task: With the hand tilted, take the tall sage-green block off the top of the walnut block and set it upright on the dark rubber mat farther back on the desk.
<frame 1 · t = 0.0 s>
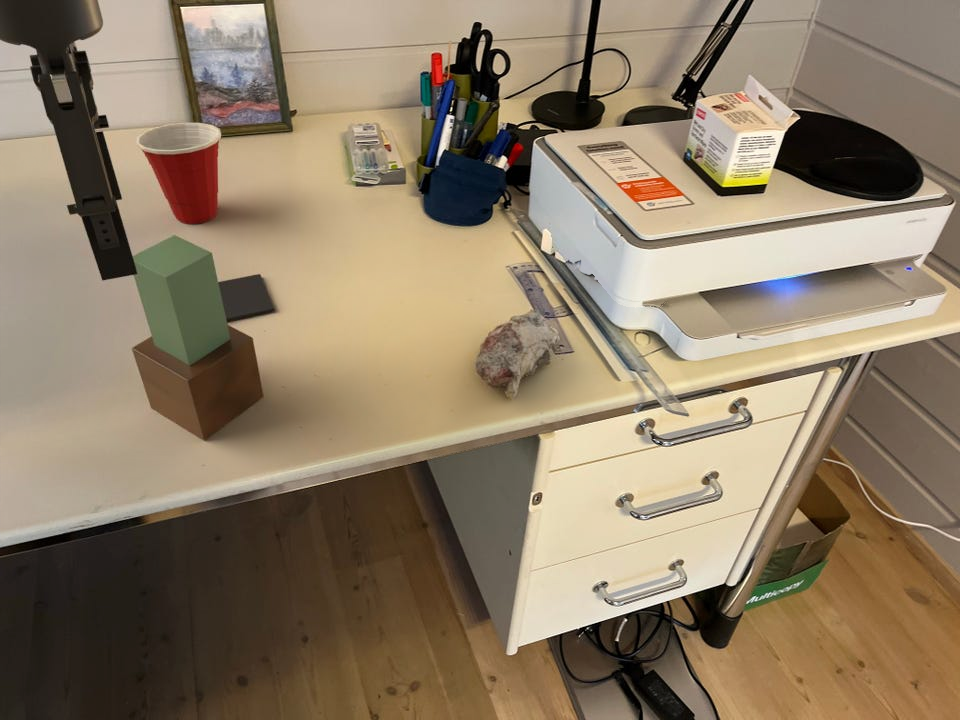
hand: (112, 235, 67), 19 cm above the table, tool pointing down, fingers open, 13 cm apart
modular blocks: (603, 269, 102), on the table
base block: (208, 402, 78), on the table, touching top block
plastic cup: (196, 214, 107), on the table
top block: (192, 342, 73), point 8 cm above the table, touching base block
mat: (218, 304, 91), on the table
mineral rock: (515, 363, 86), on the table
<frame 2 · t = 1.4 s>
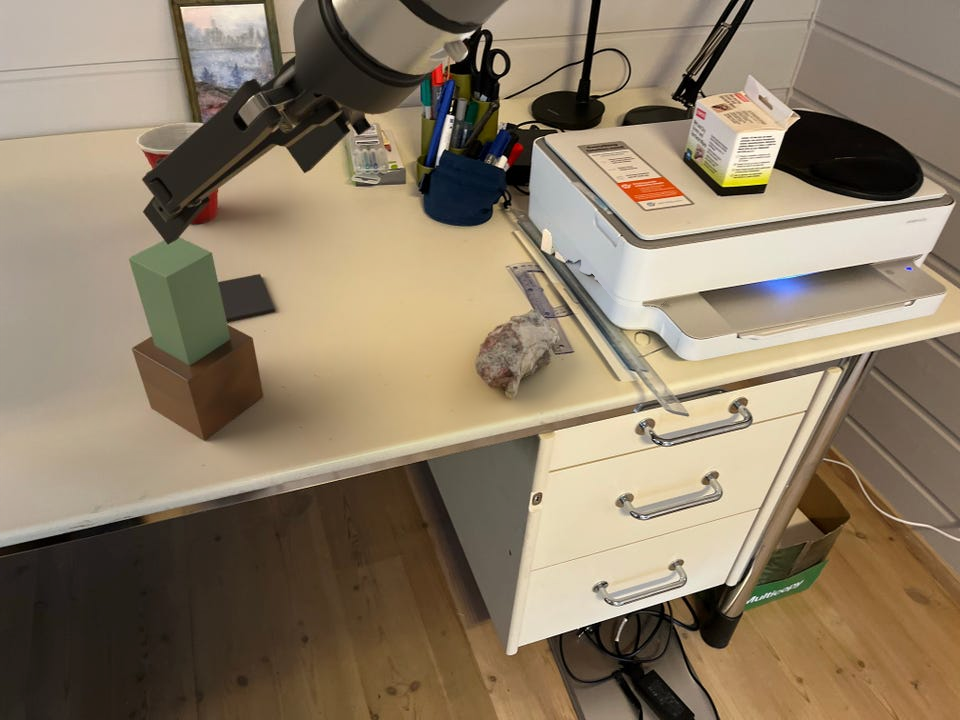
hand: (233, 189, 56), 28 cm above the table, tool tilted 45°, fingers open, 13 cm apart
nothing on the table moved.
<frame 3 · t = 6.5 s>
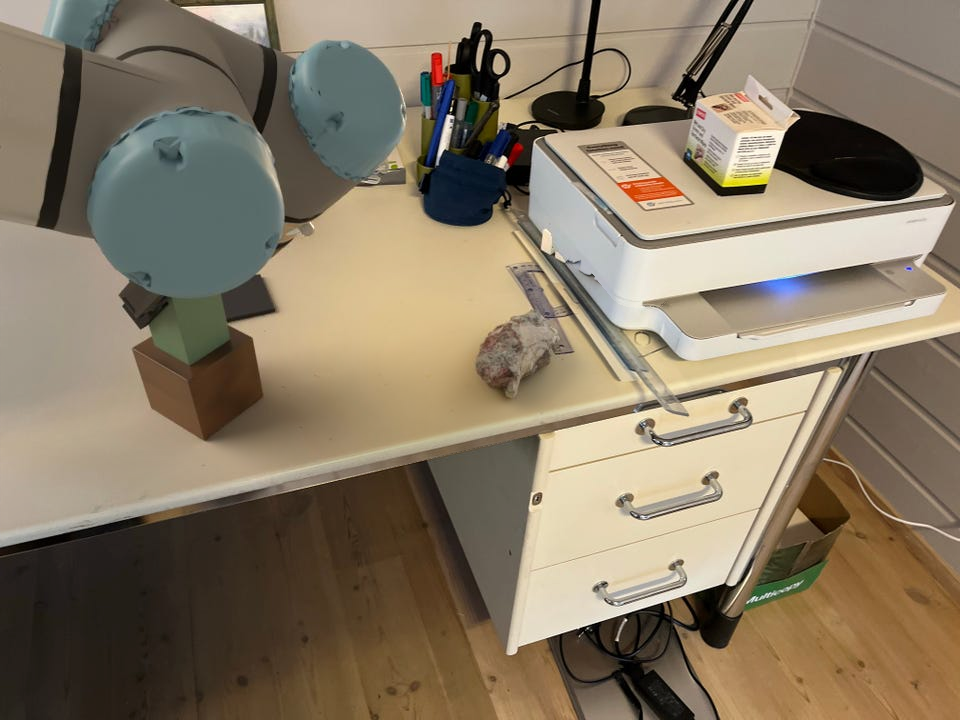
hand: (159, 301, 72), 11 cm above the table, tool tilted 45°, fingers closed on top block, 5 cm apart
top block: (192, 342, 73), point 8 cm above the table, touching base block, gripper
everything else where it was.
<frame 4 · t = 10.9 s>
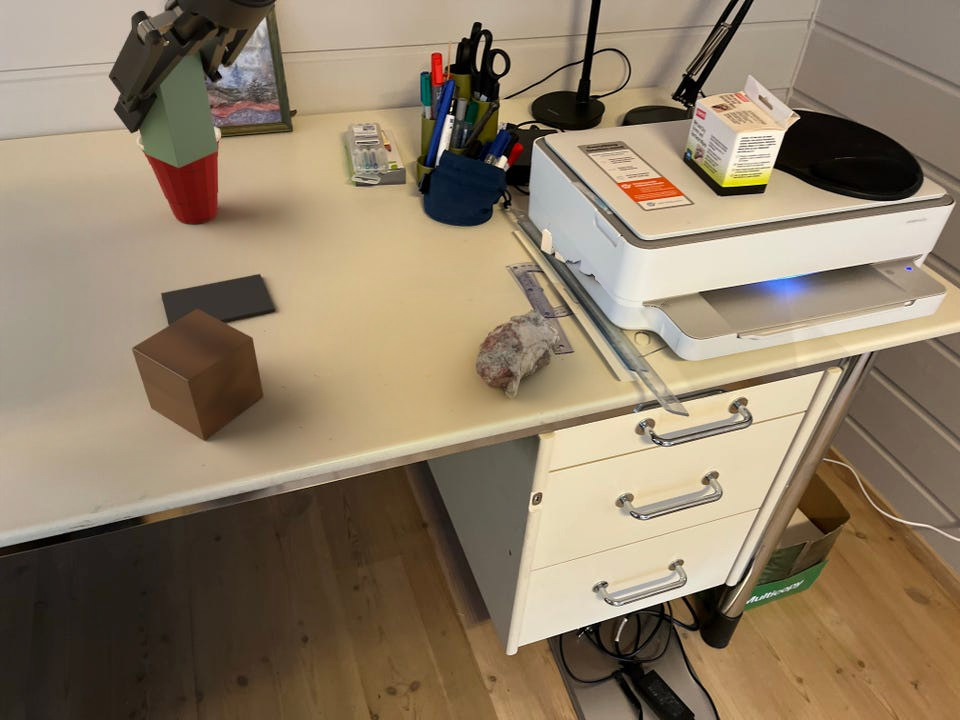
hand: (150, 111, 75), 24 cm above the table, tool tilted 45°, fingers closed on top block, 5 cm apart
base block: (208, 402, 78), on the table
top block: (182, 152, 76), point 21 cm above the table, touching gripper
everything else where it was.
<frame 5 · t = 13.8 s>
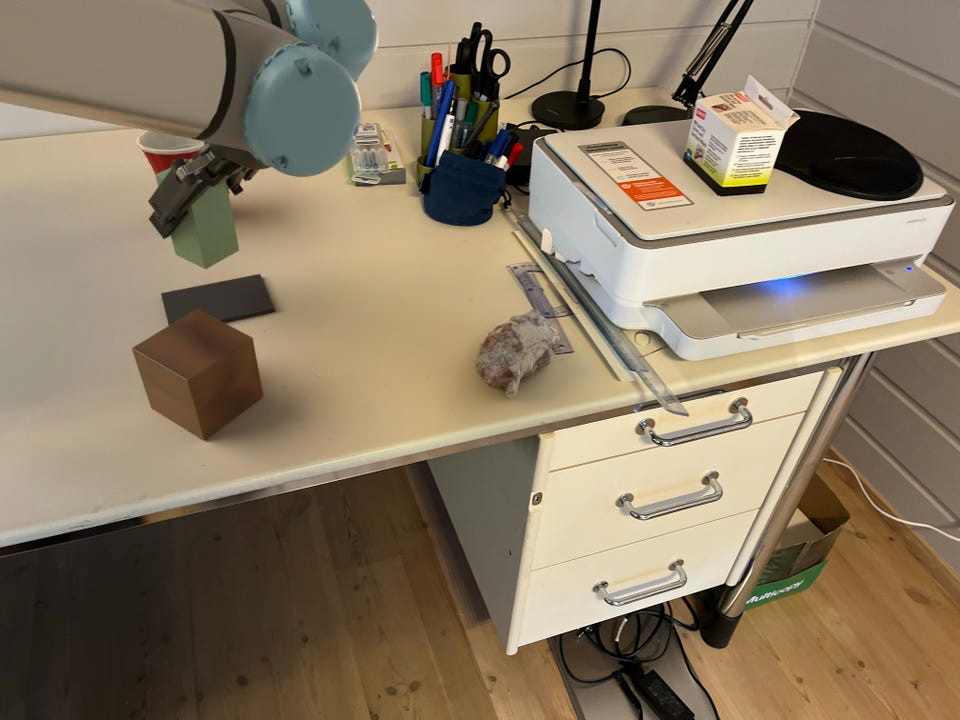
hand: (179, 217, 86), 11 cm above the table, tool tilted 45°, fingers closed on top block, 5 cm apart
top block: (207, 252, 86), point 7 cm above the table, touching gripper
everything else where it was.
when the fingers open (4 cm above the table, at t = 15.7 s): top block stays where it is, resting on mat.
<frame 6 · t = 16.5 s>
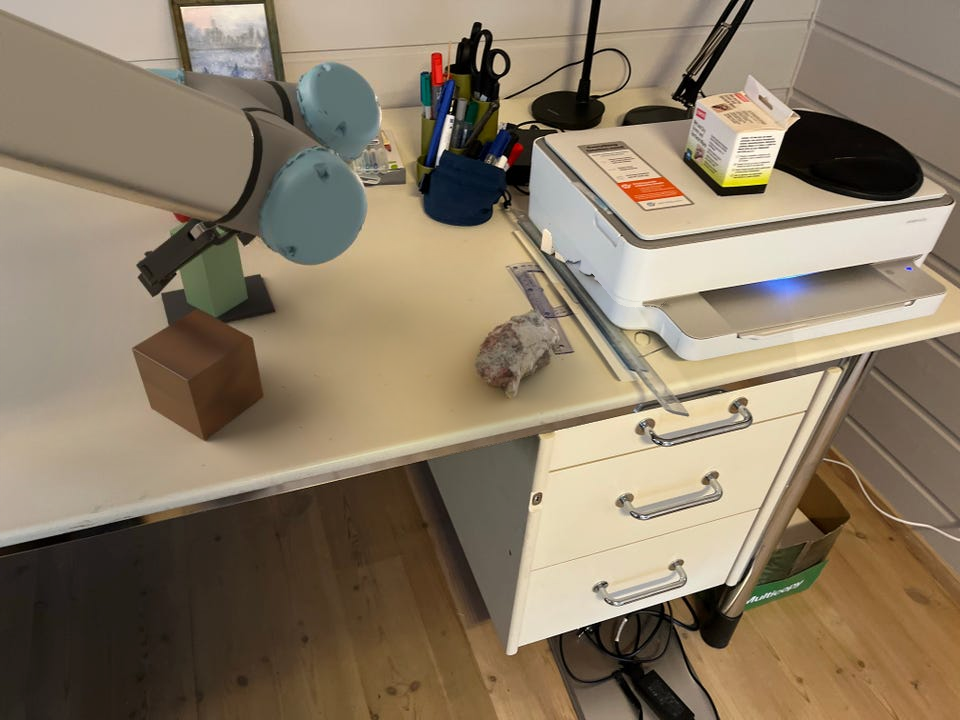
hand: (195, 259, 89), 5 cm above the table, tool tilted 45°, fingers open, 13 cm apart
top block: (217, 300, 91), resting on mat
everything else where it was.
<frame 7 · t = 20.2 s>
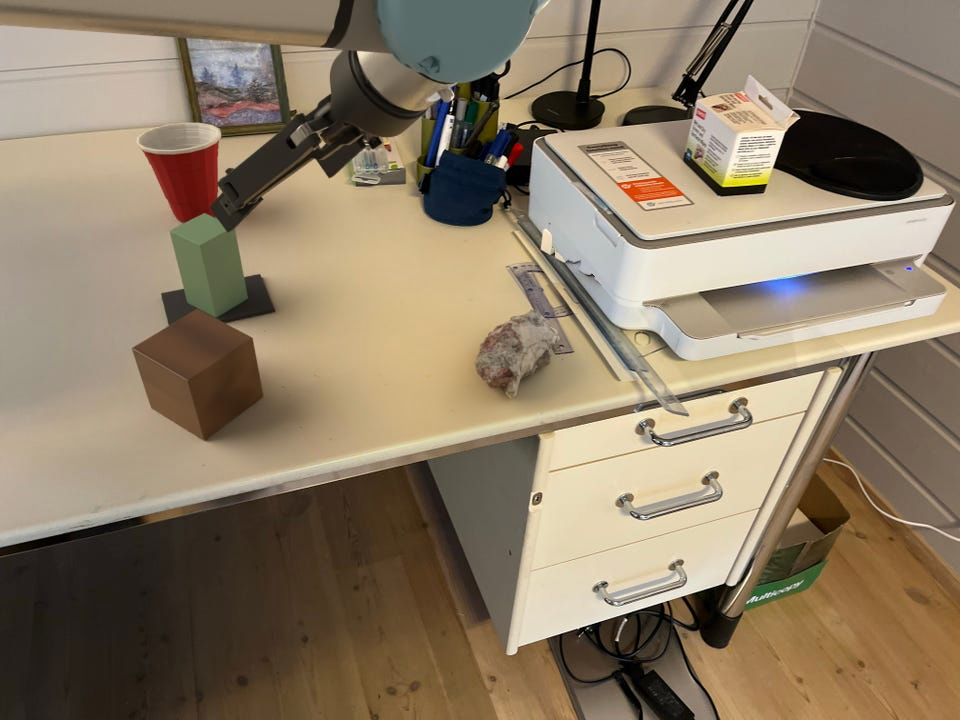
hand: (275, 190, 73), 20 cm above the table, tool tilted 45°, fingers open, 13 cm apart
nothing on the table moved.
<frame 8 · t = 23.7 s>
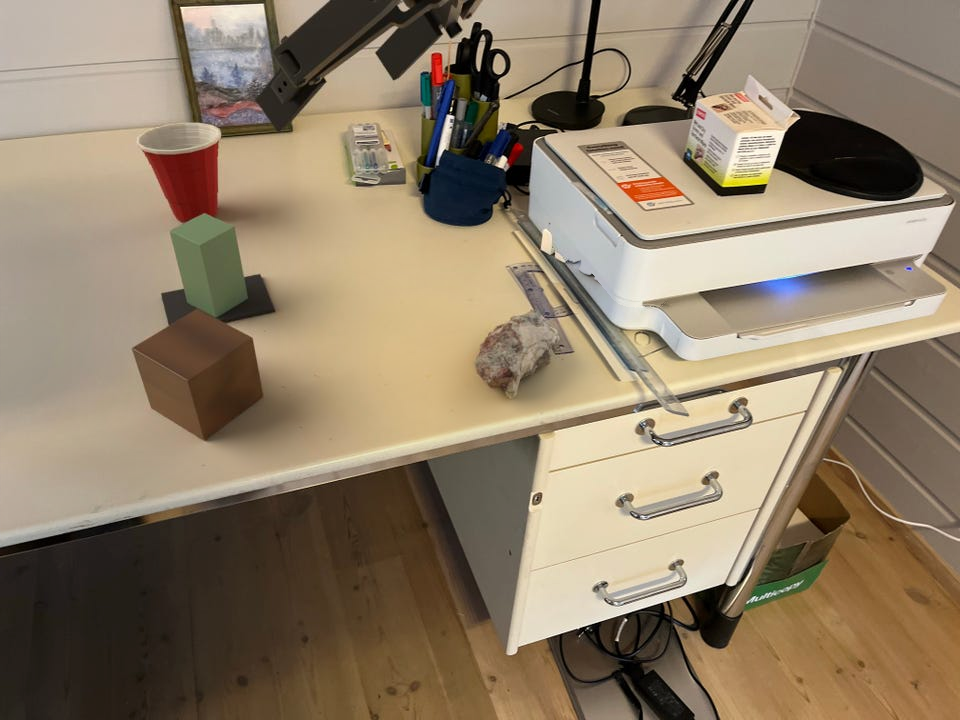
hand: (332, 88, 60), 33 cm above the table, tool tilted 45°, fingers open, 13 cm apart
nothing on the table moved.
at the end: top block inside the target area on the mat (0.1 cm from its centre), point 0.5 cm above the mat's base; top block tilted 0°; base block moved 0.0 cm from its start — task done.
